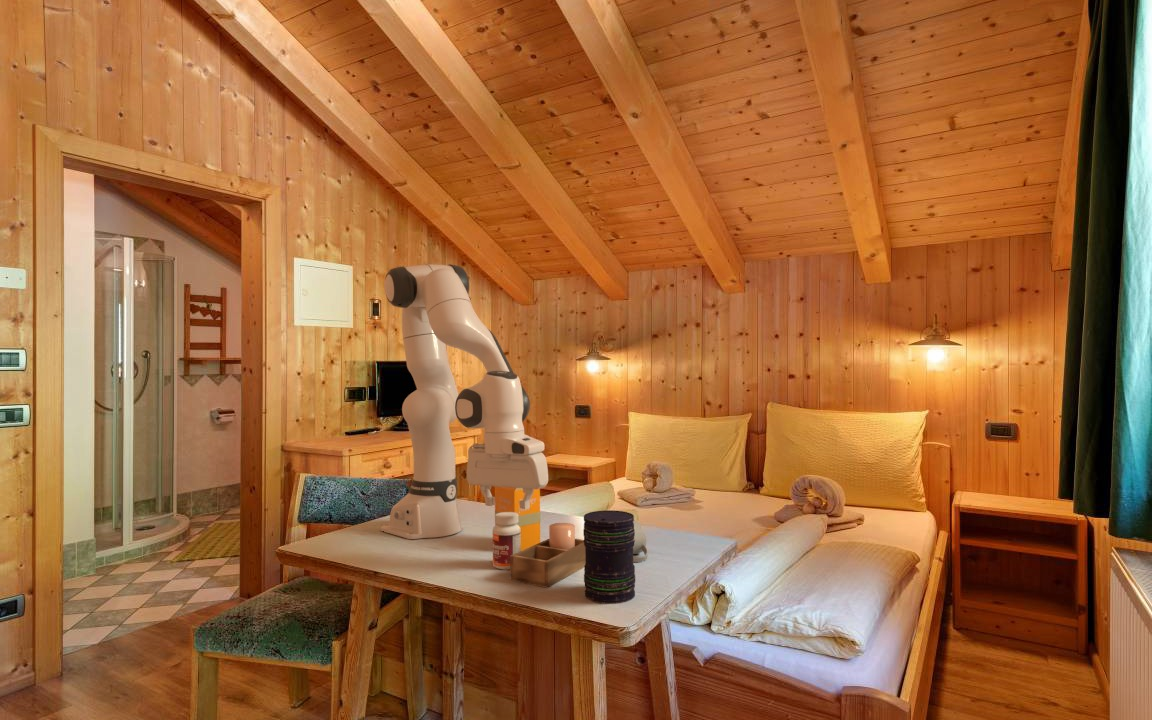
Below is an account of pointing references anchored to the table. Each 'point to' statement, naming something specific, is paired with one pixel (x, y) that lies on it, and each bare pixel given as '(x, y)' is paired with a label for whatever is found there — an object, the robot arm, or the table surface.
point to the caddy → (546, 563)
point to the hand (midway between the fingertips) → (507, 506)
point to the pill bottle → (505, 539)
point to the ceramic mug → (639, 543)
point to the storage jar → (609, 556)
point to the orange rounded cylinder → (562, 535)
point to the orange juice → (521, 512)
